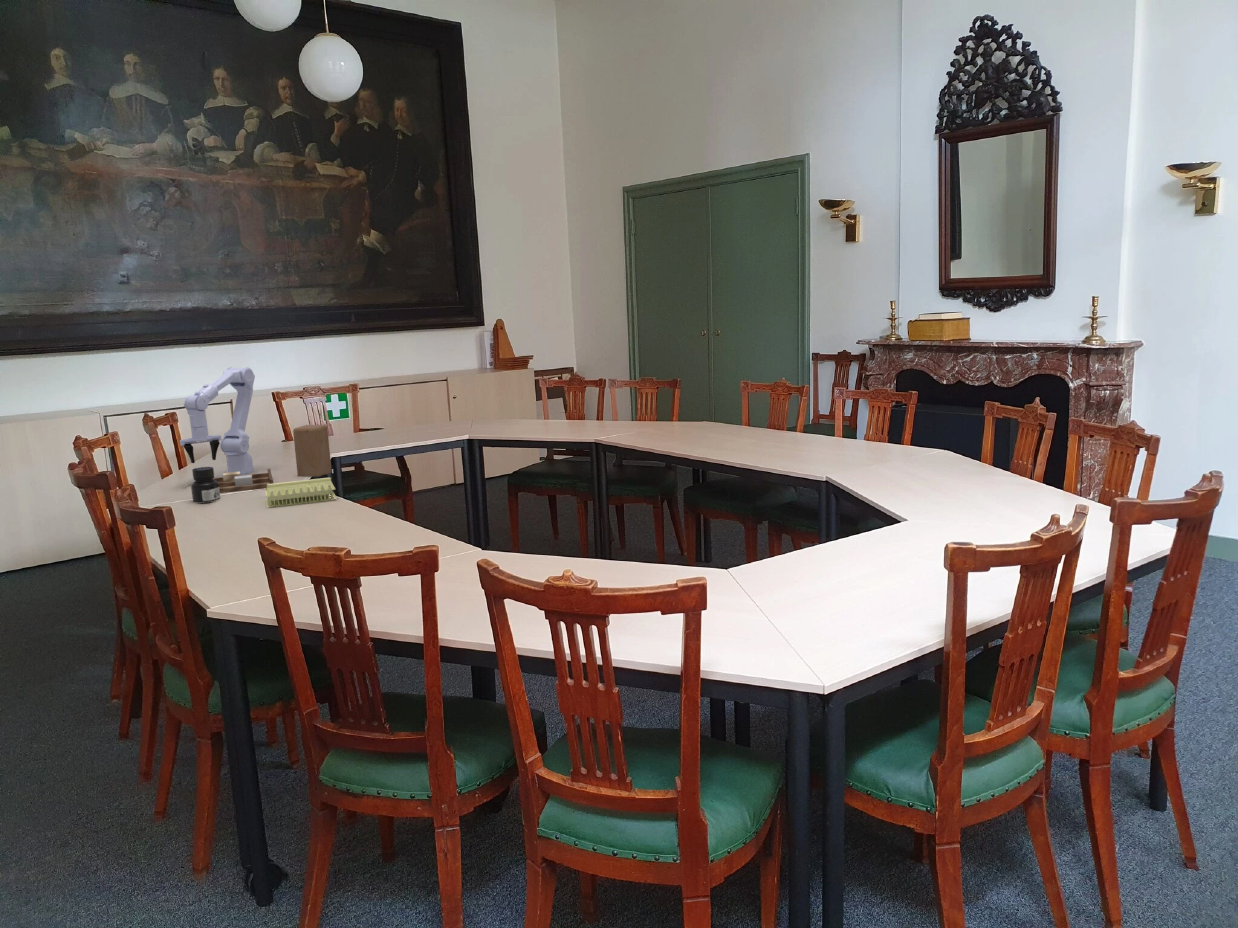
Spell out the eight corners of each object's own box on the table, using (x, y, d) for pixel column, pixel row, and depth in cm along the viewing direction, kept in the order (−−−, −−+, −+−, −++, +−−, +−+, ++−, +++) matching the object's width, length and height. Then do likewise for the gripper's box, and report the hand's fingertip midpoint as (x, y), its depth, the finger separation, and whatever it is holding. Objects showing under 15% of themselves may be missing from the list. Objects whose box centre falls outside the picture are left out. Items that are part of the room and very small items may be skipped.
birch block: (203, 487, 329) (201, 474, 328) (203, 485, 334) (202, 471, 333) (241, 483, 335) (239, 470, 333) (240, 481, 339) (239, 468, 338)
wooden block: (319, 478, 344) (314, 428, 341) (296, 478, 346) (291, 428, 343) (332, 473, 354) (328, 424, 350) (310, 472, 356) (305, 424, 352)
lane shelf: (203, 497, 317) (202, 486, 317) (205, 484, 339) (203, 475, 338) (273, 489, 327) (272, 479, 326) (271, 477, 348) (270, 468, 348)
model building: (336, 493, 320) (334, 473, 318) (340, 500, 307) (338, 480, 306) (262, 501, 310) (260, 481, 309) (264, 509, 298) (261, 489, 296)
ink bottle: (209, 505, 305) (204, 471, 302) (186, 504, 307) (182, 471, 304) (226, 498, 314) (222, 466, 312) (204, 498, 316) (200, 465, 314)
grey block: (235, 489, 325) (234, 478, 324) (235, 486, 330) (234, 476, 329) (253, 487, 327) (251, 477, 327) (252, 485, 332) (251, 474, 331)
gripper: (215, 423, 342) (220, 457, 345) (175, 427, 333) (180, 462, 336) (221, 424, 337) (225, 459, 340) (180, 429, 328) (185, 465, 330)
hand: (203, 461), depth 337 cm, fingers open, 7 cm apart
